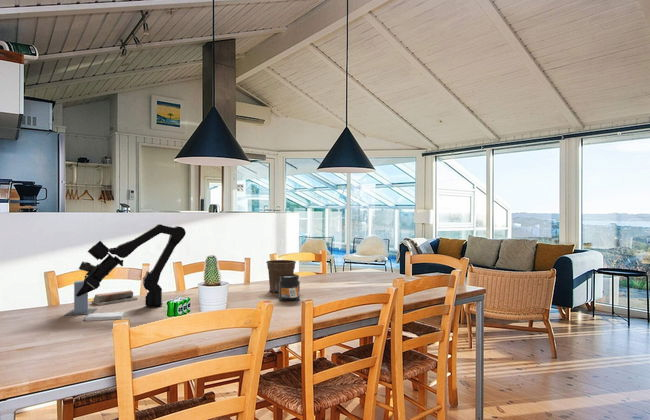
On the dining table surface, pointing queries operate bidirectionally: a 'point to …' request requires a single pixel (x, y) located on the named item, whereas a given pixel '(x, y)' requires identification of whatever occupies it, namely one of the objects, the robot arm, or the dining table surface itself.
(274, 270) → the plant pot
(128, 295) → the packaged product
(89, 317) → the strip
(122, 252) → the robot arm
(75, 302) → the stub
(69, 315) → the coaster
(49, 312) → the dining table surface
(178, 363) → the dining table surface
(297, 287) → the supplement container
